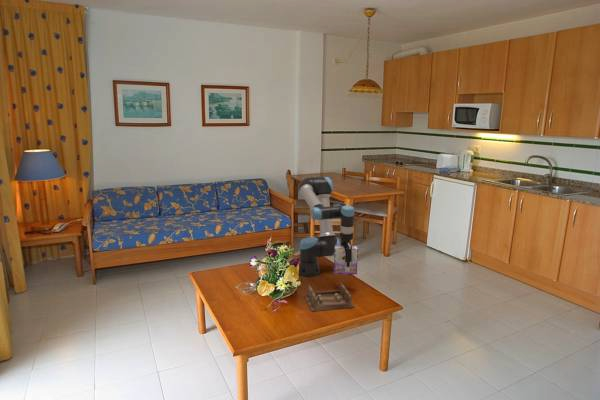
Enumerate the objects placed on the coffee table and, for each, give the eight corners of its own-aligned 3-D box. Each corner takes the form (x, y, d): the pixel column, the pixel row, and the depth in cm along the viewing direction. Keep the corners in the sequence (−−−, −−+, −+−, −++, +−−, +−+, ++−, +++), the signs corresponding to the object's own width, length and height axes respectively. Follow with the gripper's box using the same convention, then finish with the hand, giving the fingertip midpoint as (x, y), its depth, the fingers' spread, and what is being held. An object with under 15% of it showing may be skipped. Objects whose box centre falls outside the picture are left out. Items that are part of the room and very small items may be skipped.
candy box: (356, 271, 242) (357, 245, 238) (357, 275, 236) (358, 248, 232) (333, 270, 243) (334, 244, 239) (333, 273, 237) (334, 247, 233)
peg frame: (304, 296, 231) (304, 285, 230) (344, 293, 236) (344, 282, 234) (311, 311, 214) (311, 299, 213) (354, 307, 219) (354, 295, 217)
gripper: (335, 227, 242) (334, 263, 248) (345, 238, 223) (344, 276, 229) (347, 227, 244) (346, 262, 249) (358, 237, 225) (356, 275, 230)
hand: (345, 268), depth 239 cm, fingers closed on candy box, 7 cm apart
